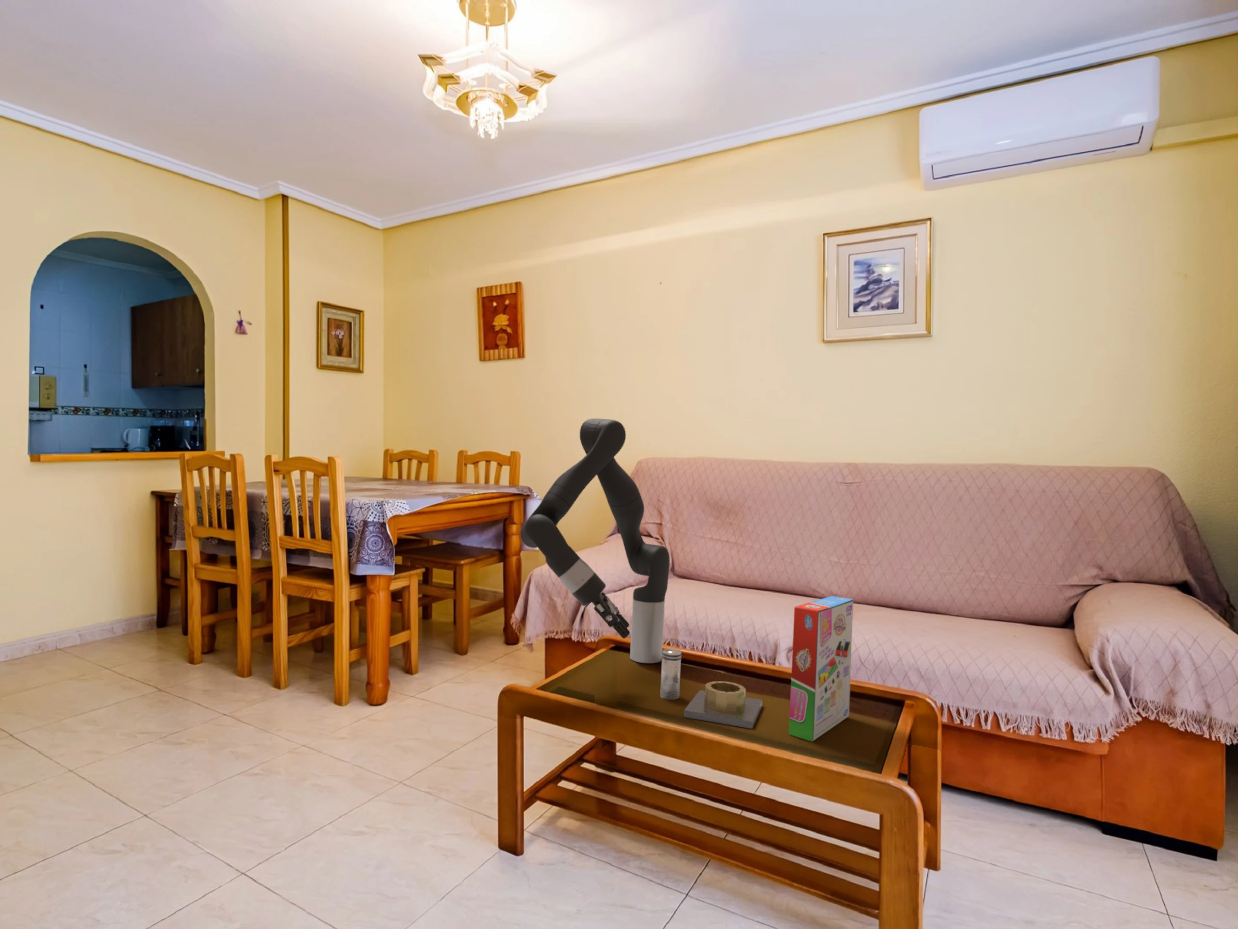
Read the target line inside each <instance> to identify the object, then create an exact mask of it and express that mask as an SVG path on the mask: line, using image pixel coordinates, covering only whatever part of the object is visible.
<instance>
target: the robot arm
mask: <svg viewBox="0 0 1238 929" xmlns="http://www.w3.org/2000/svg"><path fill="white" fill-rule="evenodd" d="M626 436H627V434H626V429H625V426H624V425H623V424H622V422H620V421H618V420H616V419H607V418H589V419H586V420H585V421H583V423H582V424H581V426H580V428H579V440H580V443H581V446H582V449H583V451H584V453H585V454H586V455H584V457H583V458H582V459H581V460H579V461H578V462H577V463H575V464H574V465H572V466H571V467H570V468H568V469H567V470H566V471H565V472H563V473H561V475H560V476H558V478H557V479H556V480H555V481H554V482H553V483H552V485H551V486H550V488H548V491H547V492H546V494H545V495H544V496H543V497H542V500H541V501H540V503H539V505H538V506H537V507H536V508H535V510H534V511H533V512H532V513H531V515H530V516H529V517H528V518H527V520H526V521H525V522H524V524H523V525H522V527H521V528H520V534H519V535H520V539H521V542H522V543H523V544H524V545H525V546H526V547H528V548H531V549H532V548H533V549H535V548H538V549H539V550H540V552H541V554H543V556H544V558H545V563H546V565H547V566H548V567H549V569H550V570H551V571H552V572H553V573H554V574H555V576H557V577H558V579H559V580H560V582H562V585H564V587H565V588H566V589H567V590H568V592H569V593H571V595H572V596H573V597H574V598H575V600H577V602H579V604H580V605H581V606H583V607H586V606H588V605H589V604H590V603H592V604H593V605H594V607H593V609H594V611H595V612H596V613H597V614H598V615H599V616H600V618H601V619H602V620H603V621H604V622H605V623H606V624H607V626H608V627H609V628H613V629H614V630H615V631H616V632H617V633H618V635H619V636H620V637H621V638H622V639H626V638H627V637H629V635H630V647H629V649H630V651H629V659H630V660H631V661H634V662H637V663H640V664H641V663H642V664H655V663H660V662H662V651H663V640H664V639H663V638H664V622H665V621H664V620H665V600H666V594H667V591H668V584H669V575H670V574H669V573H670V566H671V565H670V564H671V563H670V562H671V560H670V559H671V557H670V552H669V549H668V548H667V547H665V546H663V545H659V544H653V543H652V544H650V543H646V542H645V541H644V539H643V536H642V533H641V529H640V527H641V524H642V522H643V521H642V520H643V517H644V512H645V505H644V501H643V498H642V495H641V492H640V490H639V488H638V486H637V483H636V482H635V481H634V480H633V479H632V477H631V476H630V475H629V473H627V472H626V470H625V469H624V468H623V467H622V466H620V464H619V463H618V462H617V460H616V458H615V456H617V454H618V453H620V451H621V449H622V448H623V447H624V445H625V441H626V438H627V437H626ZM596 477H597V479H598V481H599V484H600V486H601V489H602V490H603V493H604V496H605V498H606V501H607V503H608V506H609V509H610V511H611V514H612V516H613V518H614V521H615V523H616V526H617V528H618V532H619V534H620V536H621V539H622V543H623V547H624V551H625V555H626V558H627V562H628V565H629V567H630V569H631V570H632V571H633V573H635V574H637V575H639V576H644V577H645V576H646V577H647V578H648V579H647V583H646V584H645V585H643V586H640V587H637V588H634V590H633V593H632V612H631V614H632V616H631V631H630V629H629V628H628V627H630V623H629V622H628V621H627V619H626V618H624V615H622V614H621V612H620V610H619V608H618V607H617V605H616V604H615V603H614V602H613V601H612V600H611V599H610V597H609V596H608V595H606V593H605V592H603V591H605V589H606V583H605V582H604V581H603V580H602V579H601V578H600V576H598V574H597V572H595V571H594V570H593V569H592V568H591V566H590V565H589V564H588V563H587V562H586V561H584V560H583V559H582V558H581V557H580V556H579V555H578V553H577V552H576V551H575V550H574V549H573V548H572V547H571V546H570V545H569V543H568V542H567V541H566V538H565V537H564V535H563V534H562V533H561V531H560V529H559V527H557V526H558V524H559V522H561V520H562V519H563V518H564V517H565V516H566V514H568V512H569V511H570V510H571V508H572V506H574V504H575V502H576V501H577V500H578V498H579V496H580V495H581V494H582V493H583V491H584V490H585V489H586V487H587V486H588V485H589V484H590V482H592V480H593V479H594V478H596Z"/></svg>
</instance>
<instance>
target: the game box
mask: <svg viewBox="0 0 1238 929" xmlns="http://www.w3.org/2000/svg"><path fill="white" fill-rule="evenodd" d="M793 608H794V610H793V611H794V612H793V630H792V632H793V633H792V635H793V636H792V653H791V654H792V655H791V656H792V657H791V676H790V680H791V682H790V696H789V697H790V699H789V701H790V702H789V720H788V721H789V722H788V723H789V724H788V735H789V736H792V737H796V738H799V739H802V740H805V741H808V742H814V741H815V740H817V739H818V738H820V737H821V736H823V735H825V733H827V732H828V731H830V730H831V729H833V728H834V727H837V725H839V724H840V723H841V722H843V721H844V720H846V719H848V718H849V717H850V700H851V699H850V697H851V673H852V672H851V668H852V645H853V644H852V641H853V640H852V638H853V618H854V599H853V598H849V597H848V598H847V597H843V596H842V597H841V596H836V595H835V596H833V595H831V596H828V597H823V598H821V599H817V600H813V601H810V602H806V603H803V604H800V605H796V606H794V607H793Z"/></svg>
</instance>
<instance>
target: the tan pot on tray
mask: <svg viewBox="0 0 1238 929" xmlns="http://www.w3.org/2000/svg"><path fill="white" fill-rule="evenodd" d="M746 691H747V690H746V687H744V686H743V685H741V684H739V683H736V682H731V681H721V680H720V681H713V680H712V681H710V682H707V683H706V684H705V685H704V690H703V689H700V690H699V691H698V692H697V693H696V694H695V696H694V697H693V698H692V700H691V701H690V702H689V703H688V705H687V706H686V707H685V708H684V710H683V718H687V719H693V720H699V721H705V722H710V723H716V724H722V725H726V726H732V727H733V726H734V727H739V728H745V729H751V730H753V728H754V725H755V723H756V721H757V718H758V717H759V715H760V712H761V710H762V707H763V699H761V698H760V699H759V698H752V697H747V696H746Z"/></svg>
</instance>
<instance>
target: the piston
mask: <svg viewBox="0 0 1238 929" xmlns="http://www.w3.org/2000/svg"><path fill="white" fill-rule="evenodd" d="M681 661H682V650H680V649H676V648H664V649H663V648H662V660H661V671H660V672H661V674H660V675H661V676H660V695H659V697H660V698H661V699H664V700H667V701H675V700H678V699H679V698H680V686H681V685H680V682H681V681H680V680H681V664H682V663H681Z"/></svg>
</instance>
